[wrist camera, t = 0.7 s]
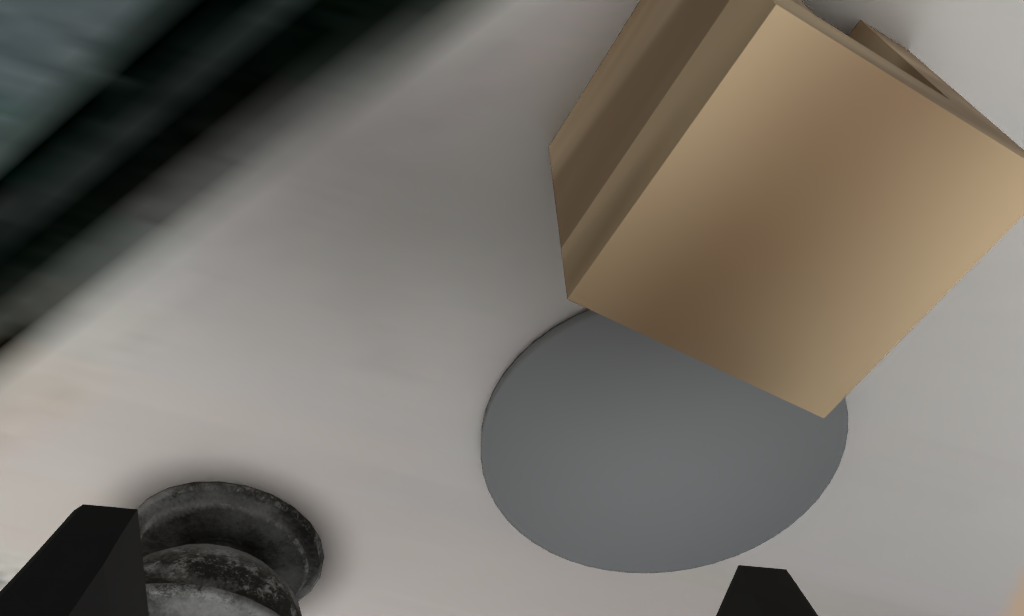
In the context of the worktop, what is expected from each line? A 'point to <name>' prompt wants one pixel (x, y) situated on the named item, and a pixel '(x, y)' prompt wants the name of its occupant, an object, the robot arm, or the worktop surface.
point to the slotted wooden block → (774, 191)
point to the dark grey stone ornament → (226, 552)
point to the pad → (647, 452)
